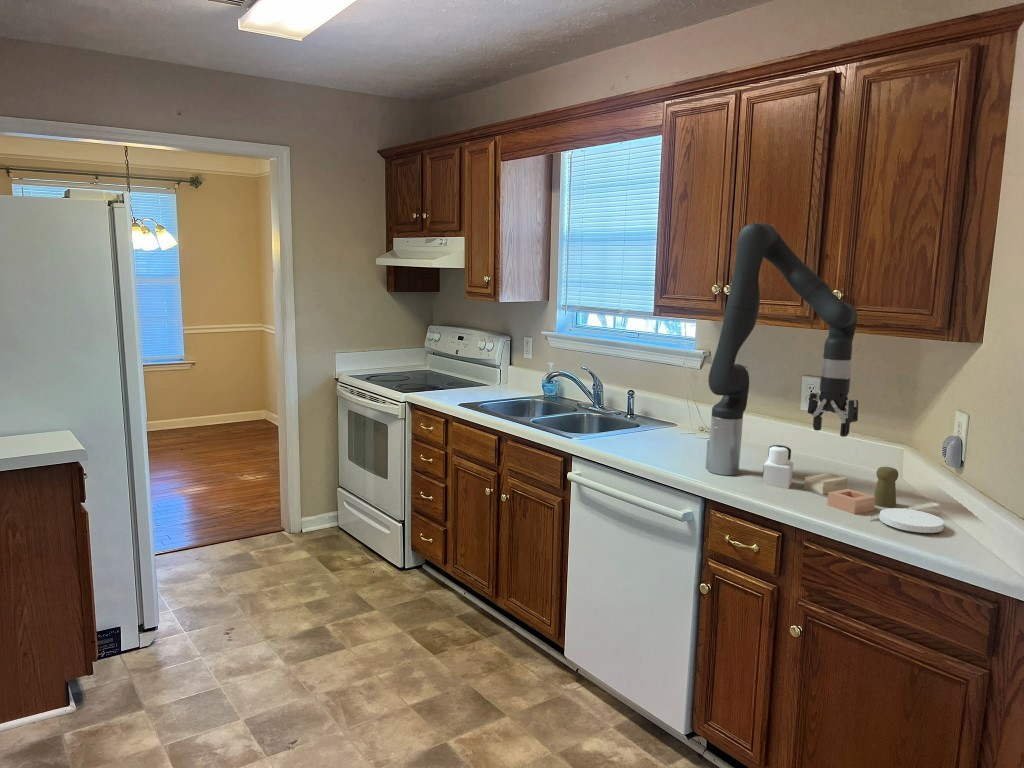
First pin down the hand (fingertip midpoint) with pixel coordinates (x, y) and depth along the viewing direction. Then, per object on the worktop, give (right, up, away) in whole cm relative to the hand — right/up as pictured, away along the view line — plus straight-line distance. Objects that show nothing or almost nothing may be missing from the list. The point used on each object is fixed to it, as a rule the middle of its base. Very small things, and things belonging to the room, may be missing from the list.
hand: (830, 433), depth 208 cm
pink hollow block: (-1, -19, -13) cm, 23 cm away
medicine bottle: (-12, -16, +7) cm, 22 cm away
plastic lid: (+10, -22, -23) cm, 33 cm away
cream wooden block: (0, -16, +3) cm, 16 cm away
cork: (+10, -19, -10) cm, 24 cm away
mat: (0, -17, +3) cm, 17 cm away
